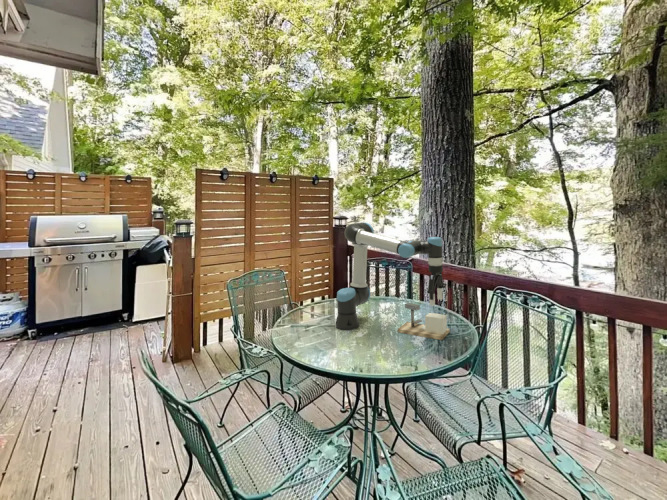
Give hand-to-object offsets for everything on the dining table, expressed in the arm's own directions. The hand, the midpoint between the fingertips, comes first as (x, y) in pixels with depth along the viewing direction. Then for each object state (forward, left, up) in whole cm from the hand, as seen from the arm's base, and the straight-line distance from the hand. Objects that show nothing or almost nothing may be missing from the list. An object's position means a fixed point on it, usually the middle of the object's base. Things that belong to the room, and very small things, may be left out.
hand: (436, 302), depth 190 cm
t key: (-13, +3, -16) cm, 21 cm away
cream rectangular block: (-2, 0, -17) cm, 17 cm away
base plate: (-8, 0, -19) cm, 20 cm away
